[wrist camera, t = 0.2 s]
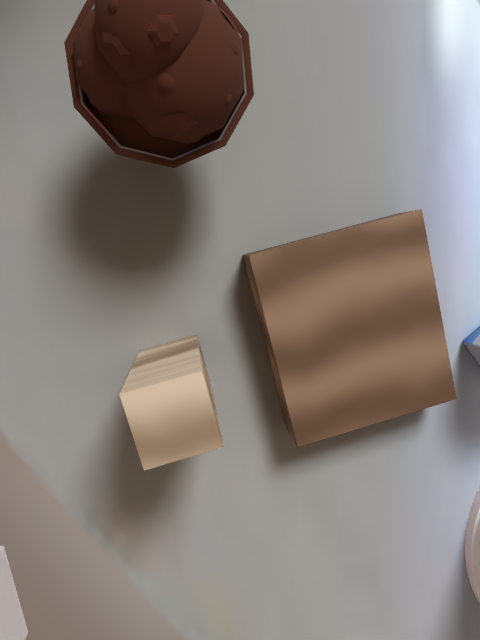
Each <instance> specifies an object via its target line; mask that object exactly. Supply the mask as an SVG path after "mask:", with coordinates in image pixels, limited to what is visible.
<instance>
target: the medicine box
mask: <svg viewBox="0 0 480 640" xmlns="http://www.w3.org/2000/svg"><path fill="white" fill-rule="evenodd" d="M463 342H464V344H465V345H466V347H467V348H468V350H469V351H470V352H471V354H472V355H473V357H474V358H475V359H476V361H477V362H478V363H479V365H480V327H478V328H477V329H476V330H475V331H474V332H472V333H471V334H470V335H469V336H468V337H467V338H466V339H465V340H463Z"/></svg>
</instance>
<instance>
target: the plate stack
mask: <svg viewBox="0 0 480 640" xmlns="http://www.w3.org/2000/svg"><path fill="white" fill-rule="evenodd" d="M465 562H466V568H467V573H468V577H469V581H470V584H471V587H472V590H473V592H474V594H475V596H476V598H477V600H478V602H479V603H480V486H479V489H478V491H477V493H476V495H475V498H474V501H473V503H472V506H471V509H470V513H469V517H468V521H467V527H466V534H465Z"/></svg>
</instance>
